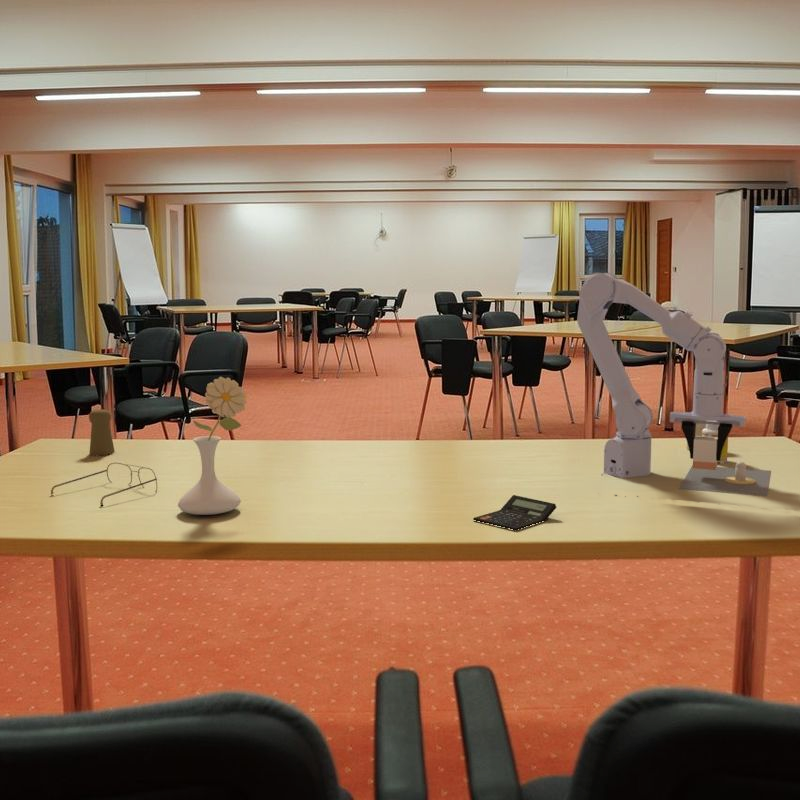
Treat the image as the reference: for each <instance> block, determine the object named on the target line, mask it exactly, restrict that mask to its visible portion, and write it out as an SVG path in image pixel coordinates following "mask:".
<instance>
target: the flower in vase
mask: <svg viewBox="0 0 800 800" xmlns="http://www.w3.org/2000/svg"><path fill="white" fill-rule="evenodd" d="M205 389H206V392H205V394H204V398H205V400H204V402H205V404H206V405H208V406H207V407H208V408H209V409H211V412H212V413H213V414H216V415H218V418H217V421H216V423H215V426H213V429H212V428H211V426H209V425H206V424H202V423H200V422H197V421H196V420H193V424H194V425H195V427H197V428H198V429H199V428H200V429H202V430H206V431H209V432H210V433H209V435H205V436H197V437H194V438H192V441H193V442H194V444H196V446H197V448H198V450H199V454H200V458H201V459H200V461H201V475H200V479H199V480H198V481H197V483H195V484H194V485H193V486H192V487H191V488H190V489H189V490H188V491H186V492H185V493H184V494H183V496H181V497H180V499H179V500H178V503H177V507H178V508H179V510H180V511H181V512H184V513H187V514H190V515H198V516H208V515H209V516H210V515H211V516H213V515H219V514H220V515H221V514H223V513H224V514H225V513H227V512H228V513H229V512H230V511H232V510H235V509H237V508H239V506H240V504H241V503H242V500H241V498H240V496H239V494H237V493H236V492H235V491H234V490H233V489H232V488H230V487H228V486H227V485H226V484H224V483H223V482H221V480H219V479H218V477H217V475H216V472H215V455H216V450H217V448H218V447H217V446H218V444H219V442H220V441H221V439H222V438H221V437H220V436H217V435H213V434H214V432H215V430H216V428H217V426H218V425H219V426H221V428H223V430H224V431H233V430H236V429H239V428H240V427H242V424H241V423H240V422H239V421H238V420H237V419H235V418H234V417H236V414H240V413H242V411H243V412H244V411H245V404H247V399H246V398H247V395H246V392H245V391H243V387H242V386H239V383H238V382H237V381H236V380H234V379H232V380H231V378H230V377H226V378H225V377H223V376H219V377H218V378H214V379H213V382H209V383H207V385H206V387H205ZM224 416H225V417H224ZM221 417H224V418H222V419H221Z"/></svg>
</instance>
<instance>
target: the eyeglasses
mask: <svg viewBox="0 0 800 800" xmlns="http://www.w3.org/2000/svg"><path fill="white" fill-rule="evenodd" d="M113 464H118V465H123V466H126V467H128V469H129V470H130V482H129V483H128V484H130V485H131V484H132V481H133V472H135V473H137V477H138V480H139V484H138V483H137V484H136V485H132V486H130V487H127V488H124V489H120V490H117V491H115V492H111V493H108V494H106V495H103V496H102V498H101V499H100V501H99V502H100V506H101V505H103V506H104V504H103V502H104V499H105V498H108V497H110V496H115V495H116V494H120V493H122V492H125V491H128V490H131V489H134V488H136V487H137V488H138V487H140V486H142V487H143V488H144V487H145V486H144V485H146V484H148V483H151V482H154V481H155V484H156V489H155V492H157V490H158V478H157V476H156V473H155V472H154V469H152V468H150V467H143V466H141V467H140V466H138V465H133V464H128V463H127V464H125V463H121V462H111V463H109V464H108V465H107V467H106V469H105V470H104V469H103V470H101V471H98V472H95V473H91V474H89V475H85V476H82V477H79V478H76V479H72V480H68V481H65V482H61V483H58V484H55V485H54V486H52V488H51V490H50V495H52V494H54V490H55V488H57V487H61V486H64V485H67V484H71V483H74V482H77V481H80V480H83V479H86V478H89V477H92V476H95V475H98V474H103V473H105V472H106V476H107V479H108V481H109V483H111V482H112V481H111V479H110V477H109V471H108V470H109V466H111V465H113ZM130 466H131V467H137V468H138V470H132V469H131V467H130ZM141 469H147V470H150V471H152V473H153V476H154V479H150V480H148V481H144V482H142V481H141V477H140V470H141Z"/></svg>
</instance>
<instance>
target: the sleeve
mask: <svg viewBox="0 0 800 800" xmlns="http://www.w3.org/2000/svg"><path fill="white" fill-rule="evenodd" d="M717 446H718V437H706V436H696V437H695V438H694V448H693V459H692V465H693V468H696V469H709V470H716V467H718V464H717V460H716V454H717Z"/></svg>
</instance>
